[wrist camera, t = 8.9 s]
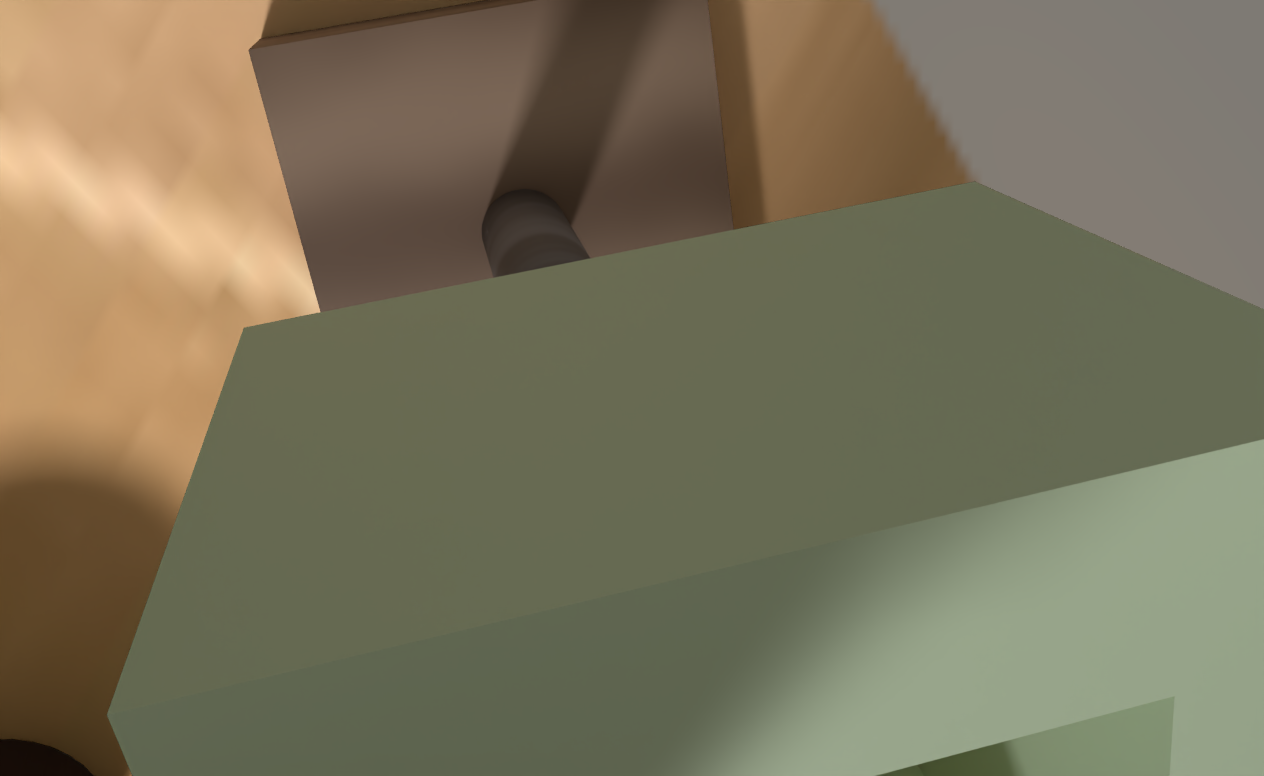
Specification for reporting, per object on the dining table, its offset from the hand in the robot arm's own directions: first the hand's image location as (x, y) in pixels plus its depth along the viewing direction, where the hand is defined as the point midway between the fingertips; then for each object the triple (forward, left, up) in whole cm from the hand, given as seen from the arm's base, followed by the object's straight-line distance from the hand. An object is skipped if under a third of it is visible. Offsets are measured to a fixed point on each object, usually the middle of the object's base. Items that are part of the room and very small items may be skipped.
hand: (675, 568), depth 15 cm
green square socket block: (0, 0, 0) cm, 0 cm away
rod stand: (0, 0, -21) cm, 21 cm away
